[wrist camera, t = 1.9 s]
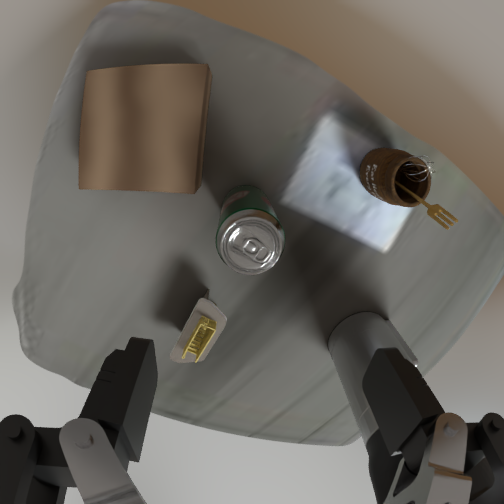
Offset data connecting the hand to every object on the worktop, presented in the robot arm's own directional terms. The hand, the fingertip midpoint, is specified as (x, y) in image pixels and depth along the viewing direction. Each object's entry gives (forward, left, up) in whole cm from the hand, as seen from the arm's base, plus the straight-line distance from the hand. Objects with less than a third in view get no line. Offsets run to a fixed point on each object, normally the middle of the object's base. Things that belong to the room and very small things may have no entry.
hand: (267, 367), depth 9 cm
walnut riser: (+11, -8, -23) cm, 27 cm away
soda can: (0, 0, -24) cm, 24 cm away
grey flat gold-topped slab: (+4, +14, -24) cm, 28 cm away
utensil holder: (-15, -6, -24) cm, 29 cm away
